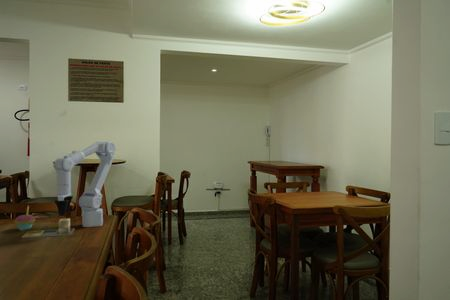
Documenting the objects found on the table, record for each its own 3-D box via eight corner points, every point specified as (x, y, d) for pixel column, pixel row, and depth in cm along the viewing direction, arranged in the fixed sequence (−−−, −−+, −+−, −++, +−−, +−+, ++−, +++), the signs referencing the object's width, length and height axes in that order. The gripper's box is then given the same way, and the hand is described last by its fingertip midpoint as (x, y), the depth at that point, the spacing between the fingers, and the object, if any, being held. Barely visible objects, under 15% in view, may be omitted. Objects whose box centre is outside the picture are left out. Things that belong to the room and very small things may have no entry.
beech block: (70, 231, 150) (70, 218, 150) (68, 233, 146) (68, 220, 146) (60, 231, 149) (60, 218, 149) (58, 234, 145) (58, 221, 145)
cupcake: (39, 227, 160) (38, 203, 160) (27, 232, 151) (27, 206, 151) (22, 226, 161) (22, 202, 160) (10, 231, 152) (9, 206, 152)
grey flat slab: (75, 231, 153) (75, 228, 153) (71, 236, 144) (71, 233, 144) (27, 234, 147) (27, 231, 147) (20, 240, 138) (20, 237, 138)
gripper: (57, 182, 153) (58, 211, 153) (50, 186, 139) (50, 218, 139) (74, 182, 154) (74, 210, 155) (67, 186, 141) (68, 216, 141)
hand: (64, 213), depth 147 cm, fingers open, 7 cm apart
